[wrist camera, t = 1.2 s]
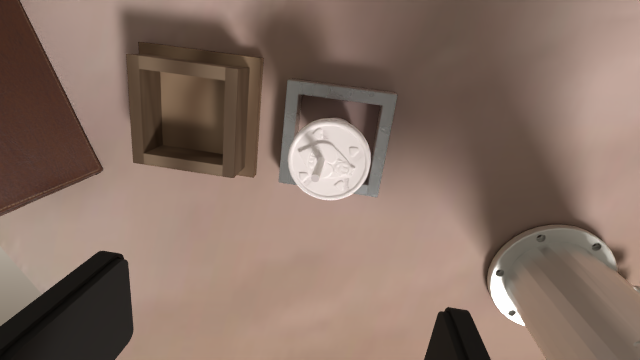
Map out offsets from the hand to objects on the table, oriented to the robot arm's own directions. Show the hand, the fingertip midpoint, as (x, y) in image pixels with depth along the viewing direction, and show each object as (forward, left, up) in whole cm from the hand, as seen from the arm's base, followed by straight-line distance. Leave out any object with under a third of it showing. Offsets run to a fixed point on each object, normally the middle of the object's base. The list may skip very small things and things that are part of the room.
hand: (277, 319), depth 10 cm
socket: (+14, 0, -27) cm, 30 cm away
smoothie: (0, 0, -27) cm, 27 cm away
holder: (0, 0, -27) cm, 27 cm away
